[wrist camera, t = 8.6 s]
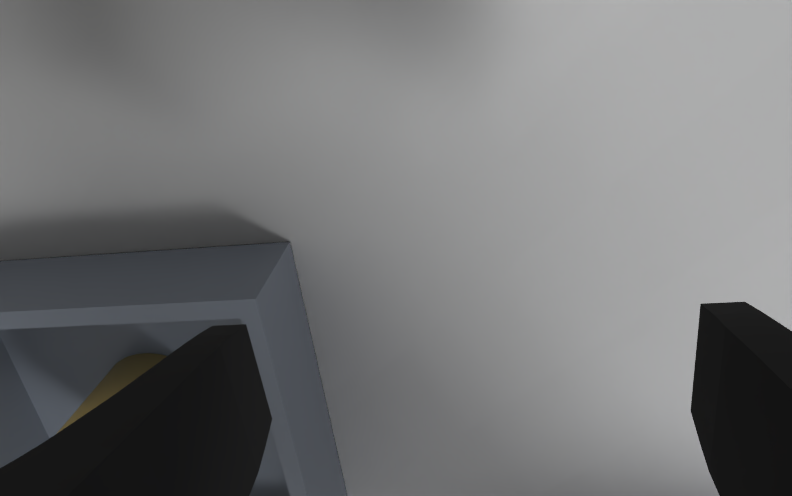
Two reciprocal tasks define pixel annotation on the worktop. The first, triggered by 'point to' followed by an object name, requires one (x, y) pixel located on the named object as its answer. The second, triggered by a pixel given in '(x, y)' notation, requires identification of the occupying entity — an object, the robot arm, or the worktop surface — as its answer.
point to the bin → (163, 344)
